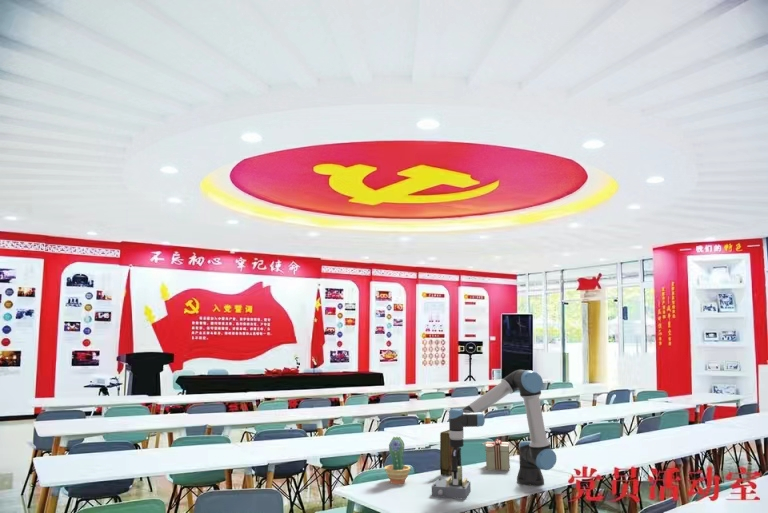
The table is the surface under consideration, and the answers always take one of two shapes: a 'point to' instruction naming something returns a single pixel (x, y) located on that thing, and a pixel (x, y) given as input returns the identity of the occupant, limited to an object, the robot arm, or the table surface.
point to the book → (445, 454)
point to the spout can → (458, 476)
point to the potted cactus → (397, 462)
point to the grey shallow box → (450, 489)
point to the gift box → (497, 455)
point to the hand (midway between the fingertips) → (456, 482)
